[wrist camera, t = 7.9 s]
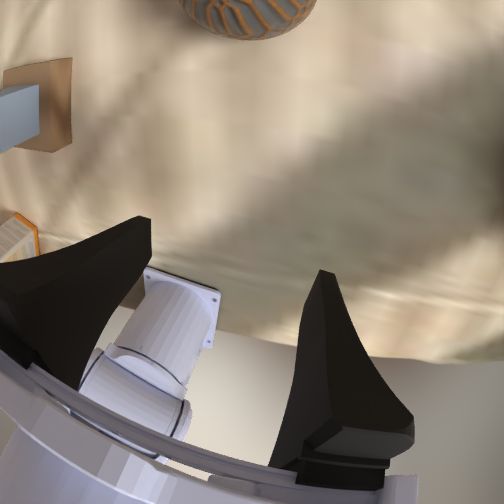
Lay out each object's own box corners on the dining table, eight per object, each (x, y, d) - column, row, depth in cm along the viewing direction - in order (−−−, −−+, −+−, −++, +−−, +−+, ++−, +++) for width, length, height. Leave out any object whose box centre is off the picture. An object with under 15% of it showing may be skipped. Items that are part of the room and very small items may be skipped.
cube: (39, 133, 19) (0, 153, 15) (14, 129, 19) (-22, 148, 16) (39, 84, 16) (-4, 98, 13) (12, 85, 16) (-26, 99, 13)
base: (75, 141, 22) (52, 152, 20) (28, 135, 23) (7, 146, 21) (75, 57, 17) (50, 61, 15) (26, 64, 18) (3, 71, 16)
